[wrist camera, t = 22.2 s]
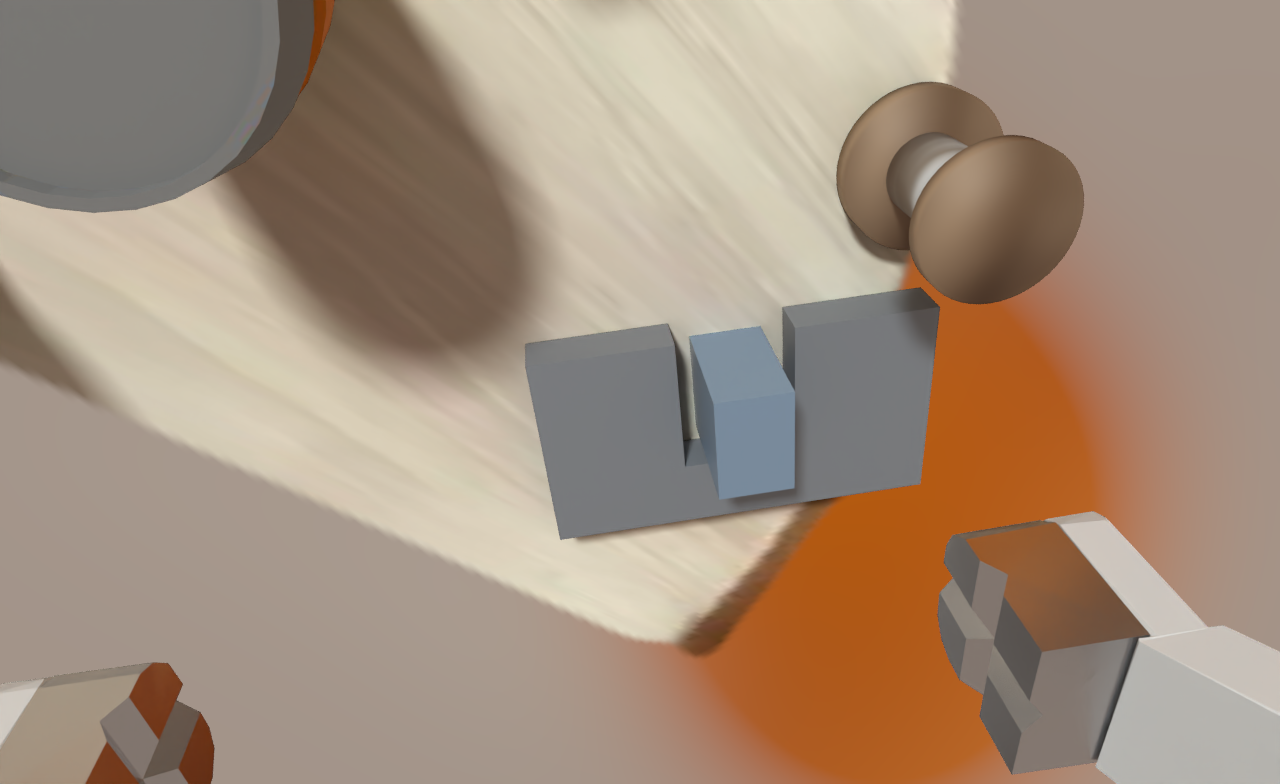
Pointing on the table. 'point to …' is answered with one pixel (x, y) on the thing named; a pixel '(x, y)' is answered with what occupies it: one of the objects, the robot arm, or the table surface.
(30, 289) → the table surface
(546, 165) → the table surface
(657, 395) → the notched board
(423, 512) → the table surface
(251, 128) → the reusable coffee cup
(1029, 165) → the bobbin post
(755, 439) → the blue-gray rectangular block
